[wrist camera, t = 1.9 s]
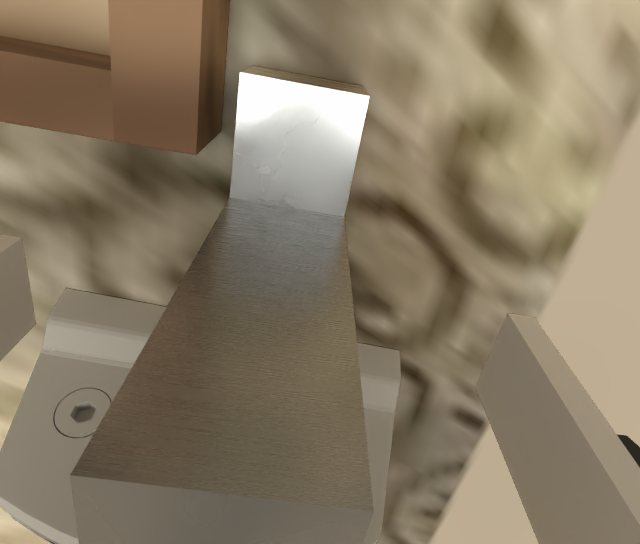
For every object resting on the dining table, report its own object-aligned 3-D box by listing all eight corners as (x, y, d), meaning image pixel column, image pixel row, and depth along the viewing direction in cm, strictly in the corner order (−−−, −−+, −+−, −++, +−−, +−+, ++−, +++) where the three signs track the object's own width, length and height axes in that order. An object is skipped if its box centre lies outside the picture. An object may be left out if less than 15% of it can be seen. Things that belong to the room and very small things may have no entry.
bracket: (324, 275, 20) (322, 654, 8) (235, 261, 20) (90, 632, 8) (362, 85, 17) (469, 245, 4) (253, 65, 16) (30, 172, 4)
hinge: (407, 351, 22) (421, 601, 16) (379, 395, 26) (380, 615, 19) (56, 286, 21) (-98, 530, 14) (76, 342, 24) (-40, 559, 17)
